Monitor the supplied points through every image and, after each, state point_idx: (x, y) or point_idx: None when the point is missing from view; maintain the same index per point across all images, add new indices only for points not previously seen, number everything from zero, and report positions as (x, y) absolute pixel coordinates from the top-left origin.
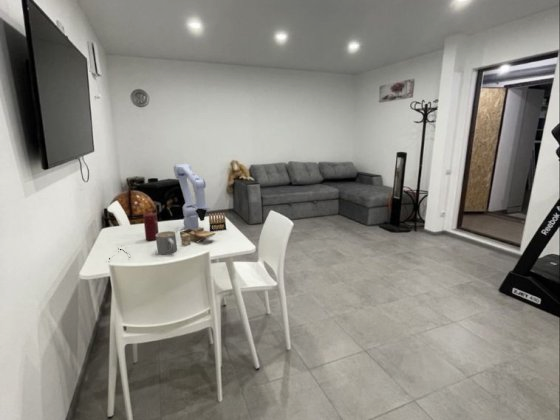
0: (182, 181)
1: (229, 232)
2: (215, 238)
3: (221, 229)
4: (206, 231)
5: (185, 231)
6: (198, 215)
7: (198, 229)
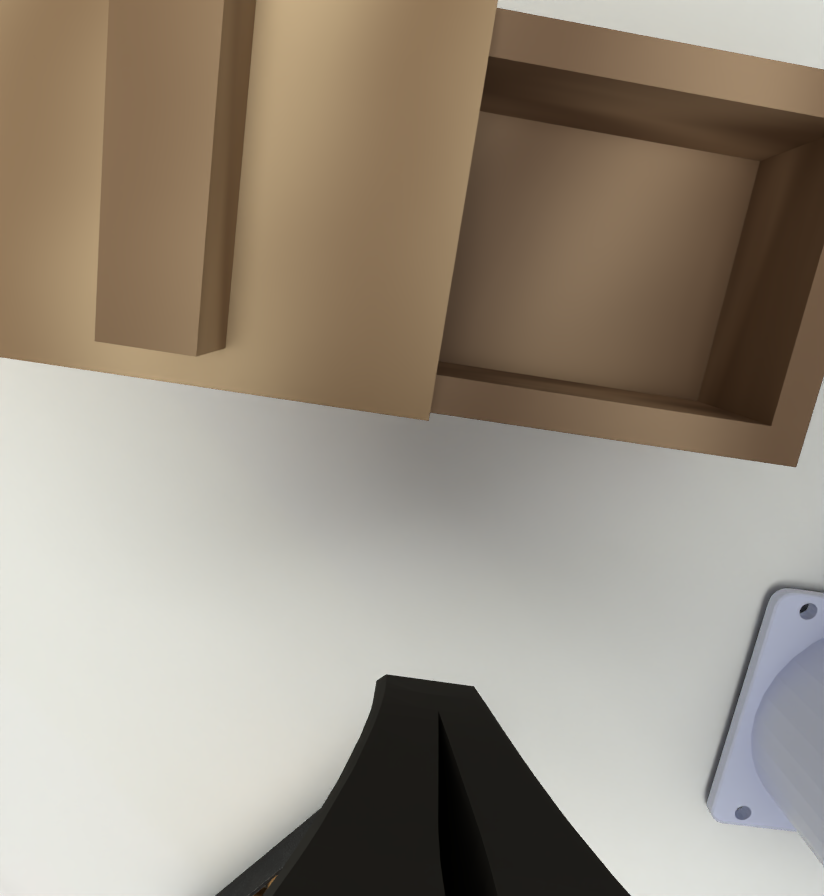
0: None
1: (15, 824)
2: (4, 435)
3: (250, 881)
4: (18, 321)
5: (801, 264)
6: (595, 880)
7: (145, 117)
